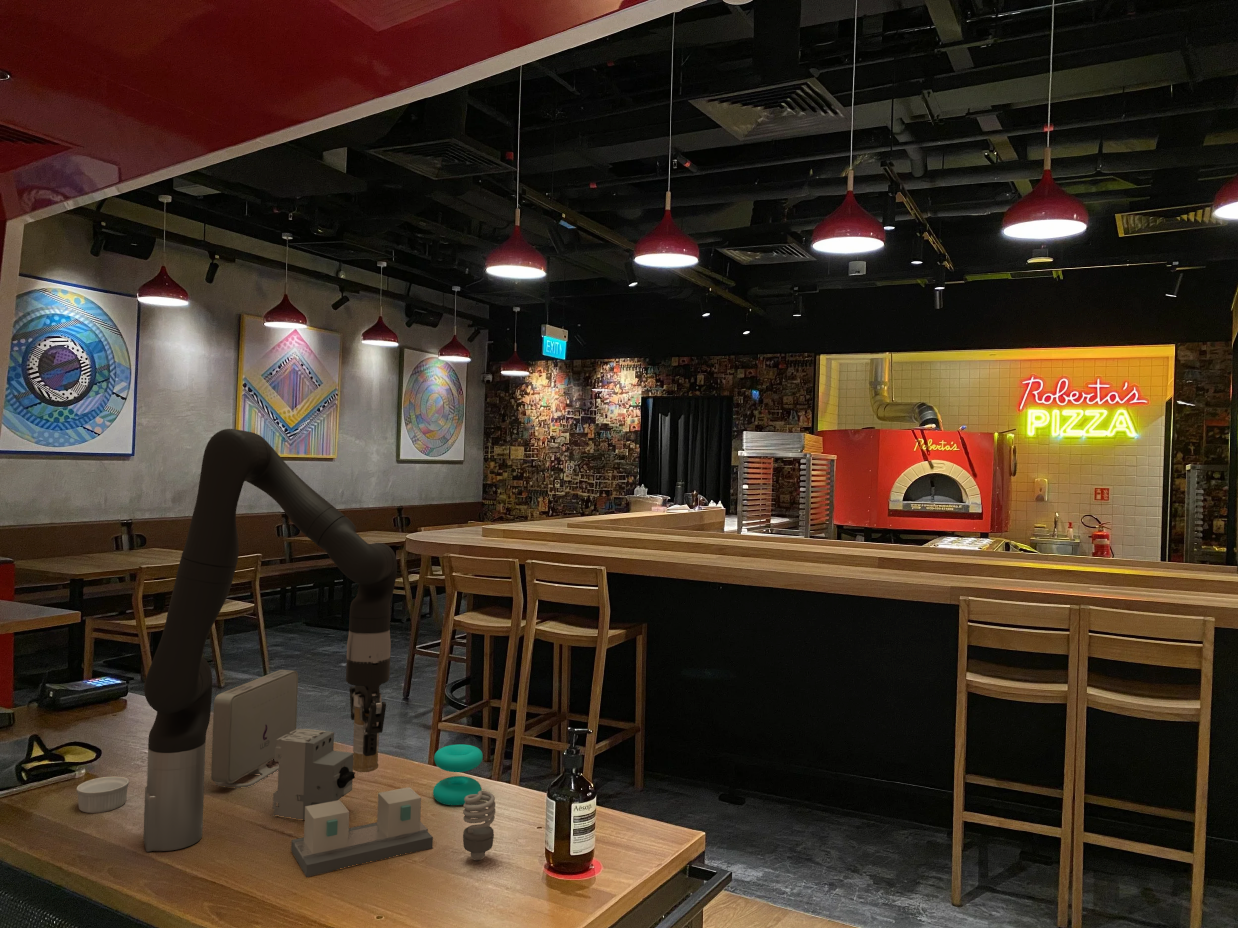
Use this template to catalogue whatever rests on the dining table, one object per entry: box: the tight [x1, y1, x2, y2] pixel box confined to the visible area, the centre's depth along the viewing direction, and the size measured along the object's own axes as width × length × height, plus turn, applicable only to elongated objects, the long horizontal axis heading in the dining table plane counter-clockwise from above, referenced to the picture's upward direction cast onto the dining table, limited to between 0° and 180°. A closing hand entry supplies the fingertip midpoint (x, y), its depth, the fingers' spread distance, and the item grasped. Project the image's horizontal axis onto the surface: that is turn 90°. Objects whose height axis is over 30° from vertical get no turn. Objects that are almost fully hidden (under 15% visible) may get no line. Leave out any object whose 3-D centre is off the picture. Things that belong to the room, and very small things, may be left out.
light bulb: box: [462, 790, 496, 862], centre depth 149 cm, size 6×6×12 cm
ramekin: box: [76, 776, 130, 814], centre depth 167 cm, size 9×9×4 cm
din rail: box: [295, 821, 429, 859], centre depth 152 cm, size 22×6×1 cm, turn 124°
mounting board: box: [290, 821, 434, 878], centre depth 152 cm, size 22×11×2 cm, turn 124°
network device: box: [210, 669, 299, 789], centre depth 188 cm, size 26×9×20 cm, turn 170°
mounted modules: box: [303, 786, 422, 854], centre depth 152 cm, size 19×7×6 cm, turn 124°
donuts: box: [432, 743, 484, 806], centre depth 177 cm, size 10×10×10 cm
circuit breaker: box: [272, 727, 356, 820], centre depth 167 cm, size 8×14×15 cm, turn 78°
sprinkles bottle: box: [352, 694, 380, 773], centre depth 152 cm, size 5×5×14 cm
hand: (365, 750), depth 152 cm, fingers closed on sprinkles bottle, 4 cm apart
